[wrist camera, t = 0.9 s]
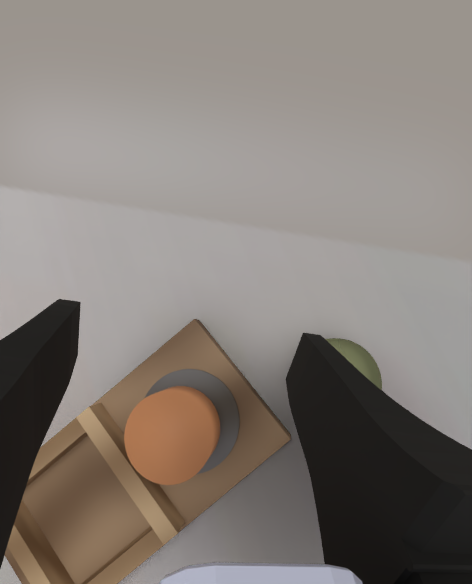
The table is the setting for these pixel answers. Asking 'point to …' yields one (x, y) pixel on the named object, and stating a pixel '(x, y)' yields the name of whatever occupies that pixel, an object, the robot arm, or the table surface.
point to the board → (134, 471)
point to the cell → (358, 359)
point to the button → (172, 434)
